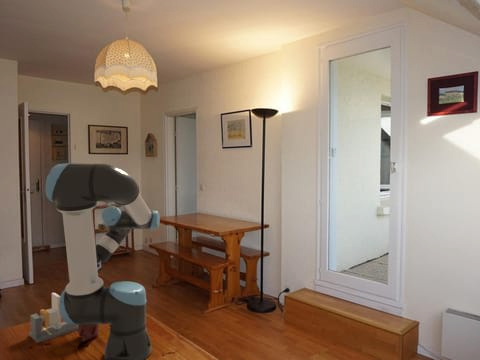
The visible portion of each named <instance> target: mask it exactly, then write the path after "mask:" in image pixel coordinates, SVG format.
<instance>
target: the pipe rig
mask: <svg viewBox="0 0 480 360" xmlns="http://www.w3.org/2000/svg"><path fill="white" fill-rule="evenodd" d="M42 322H45V316H44V315H42V316H40V315H39V314H38V313H34V314H30V331H29V337H30V338H31V339H32V340H34V342H35V343H41V342H45V341H48V340H50V339H53V338H57V337H60V336H63V335H65V334H69V333H71V332H74V331H77V330H78V329H79V328H78V325H76V324H68V323H66V322H65V321H61V328H60V329H58V328H56V327H55V326H54V325H53V324H52V325H49V327H47V328H45V327H42V324H41V323H42Z"/></svg>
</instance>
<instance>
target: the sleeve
mask: <svg viewBox="0 0 480 360" xmlns="http://www.w3.org/2000/svg"><path fill="white" fill-rule="evenodd" d="M60 297H61V295H59V294H58V293H56V292H51V308H49V309H45V310H46V311H47V312H48V313H49V326H52V325H54V326H55V327H56V328H58V329H60V328H61V323H62V317H61V315H60V310H59V304H60Z"/></svg>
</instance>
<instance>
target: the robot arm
mask: <svg viewBox="0 0 480 360" xmlns="http://www.w3.org/2000/svg"><path fill="white" fill-rule="evenodd" d="M45 195H46V198H47V199H48V201H50V202H53V203H55V208H56V209H55V210H57V212H59V213H61V214H62V220H63V221H62V223H63V230H64V240H65V248H66V258H67V269H68V279H69V282H68V283H67V284H66V286H65V289H64V290H63V291H62V292H61V294H60V296H61V297H60V304H59V310H60V315H61V320H63V322H66V323H68V324H76V325H82V324H99V325H109V335H108V338H107V342H106V344H105V348H104V360H146V359H147V358H148V357H149V356H150V355H151V353H152V342H151V338H150V335H149V333H148V329H147V302H148V300H147V293H146V289H145V286H144V285H142V284H140V283H138V282H134V281H128V280H127V281H124V280H122V281H116V282H113V283H111V285H110V286H109V287H105V285H104V280H103V279H102V278H101V277H99V272H100V271H101V270H102V269H103V266H102V264H103V262H107V261H108V260H109V259H110V258H111V256H112V254H114V252H115V251H116V250H117V249H118V247H119V246H120V245H121V243H122V242H123V241H124V240H125V238H126V237H127V236H128V235H129V234H130V233H131V231H132V230H156V229H158V228H159V226H160V223H161V220H160V219H161V216H160V212H159V211H158V210H154V209H150V208H149V206H148V205H147V204H146V201H145V200H144V198H143V197H142V195H141V194H140V187H139V185H138V183H137V181H136V180H135V178H133V176H132V175H130V174H129V173H128V172H126V171H124V170H123V169H121V168H119V167H117V166H114V165H111V164H107V163H78V162H77V163H74V162H69V163H59V164H56V165H54V166H53V167H52V168H51V169H50V170H49V172H48V175H47V177H46V180H45ZM98 202H112V203H114V204H115V205H117V206H120V207H121V208H122V210H121V209H119V208H118V207H117V206H115V205H112V206H111V205H110V206H108V207H106V208H104V209H103V210H102V213H101V220H102V222H103V224H104V226H105V227H106V229H107V231H106V233H105V234H104V235H103V236H102V237H101V238H100V240H99V241H98V242H97V243H98V244H96V238H95V225H94V215H93V210H94V209H95V208H96V207H97V206H98Z"/></svg>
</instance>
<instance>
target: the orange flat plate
mask: <svg viewBox="0 0 480 360" xmlns="http://www.w3.org/2000/svg"><path fill="white" fill-rule="evenodd" d="M46 310H47V309H44V308H42V309H40V311H39V313H40V315H39V316H42V315H44V316H45V322H42V323H41V326H43V328H47V327H49V326H50V325H49V313H48V312H47V311H46Z"/></svg>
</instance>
